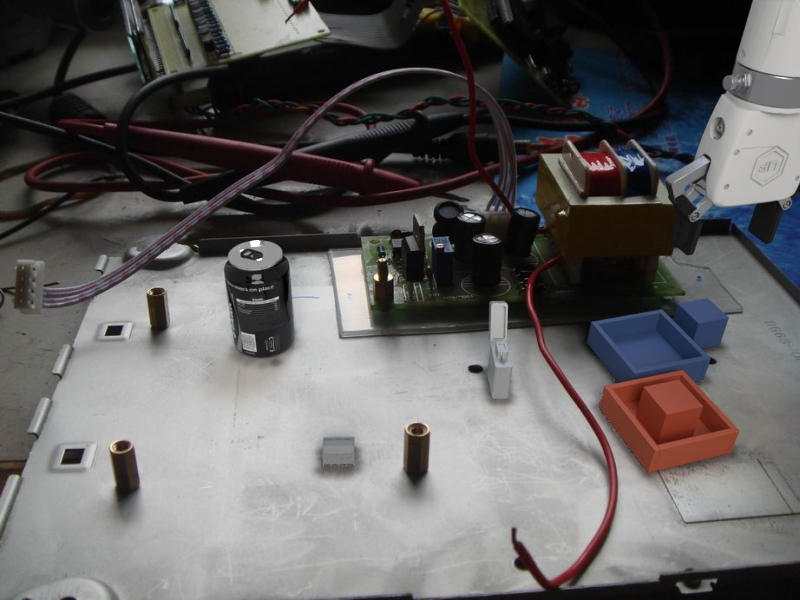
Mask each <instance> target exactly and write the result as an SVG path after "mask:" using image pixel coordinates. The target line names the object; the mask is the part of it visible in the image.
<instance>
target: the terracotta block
mask: <svg viewBox="0 0 800 600" xmlns="http://www.w3.org/2000/svg"><path fill="white" fill-rule="evenodd" d="M702 408H703V406H702V404H701V403H700V402H699V401H698V400H697V399H696V398H695V397H694V396H693V395H692V393H691V392H690V391H689V390H688V389H687V388H686V387H685V386H684V385H683V384H682V382H681V381H680V380H675V381H670V382H665V383H660V384H655V385H650V386H645V387H644V388H643V392H642V395H641V399H640V402H639V406H638V410H637V413H636V417H637V419H638V420H639V421H640V423H641V424H642V425H643V426H644V428H645V429H646V430H647V431H648V433H649V434H650V435H651V436H652V438H653V439H654V440H655V442H656V443H657V444H661V443H665V442H669V441H674V440H678V439H682V438H687V437H691V436H693V434H694V432H695V429H696V426H697V423H698V420H699V417H700V414H701V411H702Z"/></svg>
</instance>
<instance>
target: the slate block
mask: <svg viewBox="0 0 800 600" xmlns="http://www.w3.org/2000/svg"><path fill="white" fill-rule="evenodd" d="M729 319H730V317H729V316H728V314H726V313H725V312H723V311H722V310H721V309H720V308H719V307H718V306H717V305H716V304H715V303H713V302H712V300H711V299H709V298H708V297H706V298H701V299H695V300H687V301H683V302H678V303H677V305H676V309H675V312H674V315H673V319H672V320H673V321H674V322H675V323H676V324H677V325H678V326H679V327H680V328H681V329H682V330H683V331H684V332H685V333H686V334H687V335H688V336H689V337H690V338H691V339H692V340H693V341H694V342H695V343H696V344H697V345H698V346H699V347H700V348H701V349H702V350H704V349H708V348H713V347H718V346H721V343H722V340H723V337H724V334H725V331H726V328H727V325H728V322H729Z"/></svg>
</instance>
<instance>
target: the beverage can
mask: <svg viewBox="0 0 800 600" xmlns="http://www.w3.org/2000/svg"><path fill="white" fill-rule="evenodd" d="M227 258H228V259H227V261H226V262H225V263H224V266H223V275H224V277H223V278H224V284H225V291H226V297H227V298H226V299H227V304H228V313H229V321H230V326H231V327H230V328H231V333H232V339H233V345H234V347H235V348H236V350H238V351H239V352H240V353H241V354H243V355H244V356H247V357H250V358H254V359H255V358H256V359H269V358H274V357H276V356H279V355H282V354H283V353H285V352H286V351H287V350H289V349H290V348H291V347H292V345H293V344H294V342H295V339H296V331H295V330H296V329H295V328H296V327H295V315H294V301H293V288H292V276H291V268H290V266H291V265H290V262H289V260H288V258H287V256H285V255H284V254H283V249H282V248H281V247H280V245H278V244H276V243H275V242H272V241H268V240H250V241H244V242H242V243H238V244H237V245H235V246H234V247H232V248H231V249H230V250H229V252H228V255H227Z"/></svg>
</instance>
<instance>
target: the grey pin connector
mask: <svg viewBox="0 0 800 600" xmlns="http://www.w3.org/2000/svg"><path fill="white" fill-rule="evenodd" d="M322 439H323V441H322V467H325V465H329V466H330V469H332V468H333V465H337V469H339V470H340V469H341V467H340V465H345V467H348V465H353V467H356V463H355V461H356V446H355V445H356V442H355V441H356V440H355V436H338V437H337V436H327V437H326V436H325V437H322Z"/></svg>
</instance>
